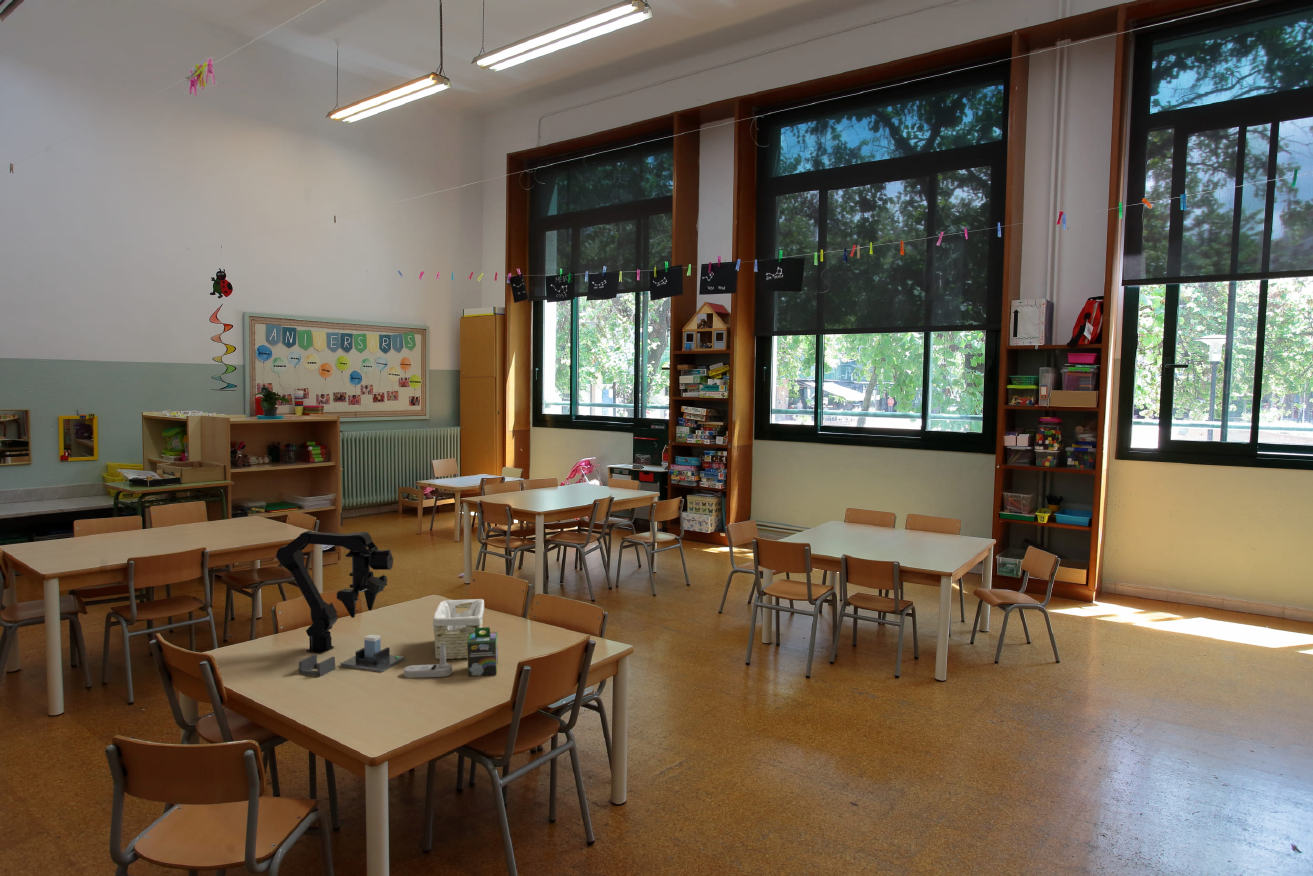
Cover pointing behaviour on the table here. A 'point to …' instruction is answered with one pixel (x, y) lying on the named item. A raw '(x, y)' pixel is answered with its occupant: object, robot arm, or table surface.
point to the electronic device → (430, 668)
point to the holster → (316, 666)
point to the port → (373, 660)
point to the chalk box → (482, 653)
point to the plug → (372, 645)
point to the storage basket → (456, 626)
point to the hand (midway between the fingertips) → (361, 613)
